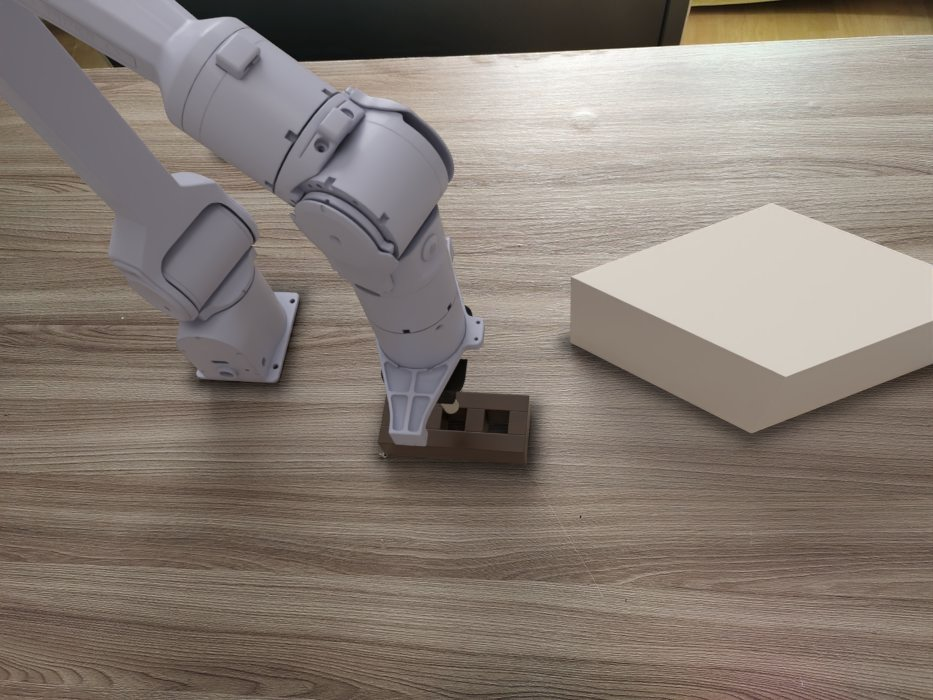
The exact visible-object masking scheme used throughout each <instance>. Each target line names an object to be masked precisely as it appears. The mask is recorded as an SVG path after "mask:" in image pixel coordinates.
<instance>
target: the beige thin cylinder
mask: <svg viewBox="0 0 933 700" xmlns="http://www.w3.org/2000/svg"><path fill="white" fill-rule="evenodd" d="M441 405H442V407H443V408H444V410H445V411H446V412H447V413H449V414H452V413H455V412H456V411H457V410H458V408H459V403H458V402H457V400H455V402H454V404H441Z"/></svg>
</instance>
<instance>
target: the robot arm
mask: <svg viewBox="0 0 933 700" xmlns="http://www.w3.org/2000/svg"><path fill="white" fill-rule="evenodd" d="M39 17H40V18H42V19H43V20H45V21H47V22H48V23H50V24H52V25H54V26H55V27H57V28H59V29H60V30H62V31H64V33H65V32H66V33H67V34H70V35H71V36H72V37H74V38H75V39H77V40H79V41H81V42H83V43H84V44H86V45H88V46H89V47H91V48H93V49H94V50H96V51H98V52H100V53H102V54H103V55H105V56H107V57H108V58H110V59H112V60H113V61H115V62H117V63H119V64H120V65H122V66H124V67H126V68H127V69H129V70H131V71H132V72H134V73H136V74H137V75H139V76H140V77H143V78H144V79H146V80H147V81H149V82H152V84H154V85H156V86H157V87H158V89H159V91H160V95H161V99H162V103H163V107H164V112H165V114H166V117H167V119H168V120H169V122H170V124H172V125H173V126H174V127H176V128H177V129H179V130H180V131H181V132H183V133H184V134H186V135H187V136H188V137H190V138H191V139H192V140H194V141H196V142H197V143H199V144H200V145H201V146H203V147H205V148H206V149H208V150H209V151H210V152H212V153H213V154H215V155H216V156H218V157H219V158H220V159H222V160H223V161H225V162H226V163H228V164H229V165H231V166H232V167H234V168H235V169H237V170H238V171H239V172H241V173H242V174H244V175H245V176H247V177H248V178H250V179H251V180H253V181H254V182H256V183H257V184H259V185H260V186H261V187H263V188H264V189H266V190H267V191H269V192H270V193H271V194H273V195H274V196H275V197H277V198H279V199H280V200H282V201H283V202H285V203H286V204H287V205H289V206H291V207H292V208H294V209H293V212H289V214H288V215H289V218H290V219H291V221H292V222H293V223H294V225H295V226H296V227H297V228H298V230H299V231H300V232H301V233H302V234H303V235H304V237H306V238H307V239H308V241H309V242H311V243H312V244H313V245H314V246H315V247H316V248H317V249H318V250H319V251H320V252H321V253H322V254H323V255H324V256H325V258H326V259H327V262H328V263H329V265H330V267H331V269H332V270H333V271H335V272H336V273H337V274H338V276H339V277H340V278H341V279H344V280H345V281H348V282H350V284H351V287H352V288H353V291H354V293H355V295H356V297H357V299H358V302H359V303H360V307H362V310H363V312H364V314H365V317H366V318H367V320H368V322H369V324H370V327H371V329H372V331H373V334H374V336H375V344H376V349H377V353H378V359H379V362H380V363H379V364H380V369H381V370H380V378H381V380H382V382H383V384H384V388H385V392H386V393H387V398H388V403H389V410H390V426H389V434H390V436H391V438H392V439H393V441H394V443H395V444H398V445H410V446H426V444H427V437H428V432H427V430H426V423H427V420H428V418H429V416H430V414H431V412H432V410H433V408H434V406H435V404H436V403H437V404H454V402H455V400H456V393H457V392H460V391H463V388H464V385H465V382H466V379H467V371H468V370H467V369H468V363H469V360H468V359H467V358H462V356H463V354H464V353H466V352H467V351H470V350H472V351H475V350H476V351H477V350H479V349H481V348H482V347H483V345H484V342H485V334H486V326H485V320H484V319H483V318H482V317H480V316H473V315H474V314H473V311H472V309H471V308H470V307H469V306H468V305H466V304H465V302H464V299H463V294H462V291H461V288H460V284H459V281H458V277H457V274H456V271H455V267H454V259H455V258H454V257H455V251H454V246H453V242H452V237H450V236H446V234H445V229H444V225H443V221H442V216H441V213H440V209H439V205H438V203H439V202H440V200H441V198H442V196H443V195H444V194H445V193H446V191H447V189H448V187H449V183H450V182H451V181H452V180H453V178H454V176H455V162H454V158H453V156H452V154H451V153H452V152H451V151H450V149H449V147H448V145H447V144H446V142H445V141H444V139H443V138H442V137H441V136H440V134H439V133H438V132H437V131H436V130H435V129H434V127H432V126H431V125H430V124H429V123H428V122H427V121H425V120H424V119H423V118H421V116H420V115H418V114H417V113H416V112H415V111H414V110H413V109H412V108H410V107H408V106H407V105H405V104H403V103H401V102H399V101H396V100H393V99H390V98H385V97H379V96H372V95H369V94H367V93H364V92H363V91H362V90H361V89H359V88H357V87H355V88H353V87H352V86H347V87H346V89H345V90H344V91H342V92H341V91H339V90H338V89H336V88H335V87H334V86H332V85H331V84H329V83H328V82H327V81H325V79H323V78H321V77H320V76H318V75H317V74H315V73H314V72H313V71H311V70H310V69H309V68H307V67H306V66H304V65H303V64H302V63H300V61H297V60H296V59H295V58H293V57H292V56H290V55H289V54H288V53H286V52H285V51H284V50H283V49H281V48H279V47H278V46H276V45H275V44H274V43H272V42H271V41H270V40H268V39H267V38H265V37H264V36H263V35H261V34H260V33H258V32H257V31H256V30H254V29H253V28H251V27H250V26H249V25H248V24H246V23H244V21H242V20H240V19H239V18H237V17H233V16H220V17H213V18H205V19H198V18H196V17H195V16H194V15H193V14H191V13H190V12H189V11H188V10H187V9H185V7H183V6H182V5H181V4H179V3H178V2H177V1H176V0H0V98H1V99H2V100H3V101H4V102H5V103H6V104H7V105H8V106H9V107H10V108H11V110H13V111H14V112H15V114H17V116H19V117H20V119H22V121H24V122H25V124H26V125H28V127H30V128H31V129H32V131H33V132H35V134H36V135H38V137H40V139H41V140H42V141H43V142H44V143H45V144H46V145H47V146H48V147H49V148H50V149H51V150H52V151H53V152H54V153H55V154H56V155H57V156H58V157H59V158H60V159H61V160H62V162H64V163H65V164H66V165H67V166H68V167H69V168H70V169H71V170H72V171H73V172H74V173H75V174H76V176H78V177H79V178H80V179H81V180H82V181H83V183H85V185H87V187H89V188H90V189H91V190H92V192H93V193H95V194H96V196H97V197H98V198H99V199H101V200H102V202H103V203H104V204H105V205H106V206H107V207H108V208H109V209H110V210H111V211H112V212H113V213H114V217H113V218H114V219H113V223H112V229H111V234H110V239H109V246H108V249H107V257H108V259H109V260H110V261H111V262H112V265H113V267H114V268H116V270H118V272H119V273H120V274H121V275H123V277H124V278H125V279H126V282H127V284H128V286H129V287H130V288H131V289H132V290H133V291H134V293H136V294H137V295H139V297H141V298H142V299H143V300H144V301H146V302H147V303H148V304H150V305H151V306H153V307H154V308H156V309H157V310H159V312H162V313H163V314H165V315H167V316H168V317H170V318H173V319H175V320H177V321H178V330H177V333H176V338H175V347H176V349H177V350H178V352H180V353H181V354H182V356H184V357H185V358H186V359H187V360H188V362H189V363H190V364H192V365H193V367H194V368H196V372H195V376H196V377H197V378H198V379H200V380H213V381H229V382H231V381H232V382H247V383H248V382H249V383H267V384H275V383H277V382H279V380H280V377H281V373H282V369H283V367H284V362H285V358H286V354H287V350H288V346H289V342H290V339H291V334H292V330H293V327H294V323H295V318H296V314H297V311H298V307H299V302H300V298H301V297H300V295H299V293H297V292H295V291H293V292H290V291H273V289H272V287H271V286H270V284H269V283H268V281H267V279H266V278H265V277H264V275H263V274H262V272H261V271H260V269H259V267H258V266H257V265H256V263H255V261H256V259H257V257H258V255H259V254H258V251H257V250H256V249H255V247H254V245H255V244H256V243H257V242H258V241H259V240H260V237H261V235H260V231H259V228H258V224H257V222H256V220H255V218H254V217H253V216H252V215H251V213H250V212H249V211H248V210H247V209H246V207H244V206H243V205H242V204H241V203H240V202H238V201H237V200H236V199H235V198H233V197H232V196H231V195H229V194H228V192H227V191H226V190H224V188H223V187H222V186H221V185H220V183H218V182H217V181H215V180H213V179H211V178H209V177H207V176H204V175H202V174H199V173H196V172H191V171H180V172H173V173H170V172H169V170H168V169H167V168H166V167H165V166H164V165H163V164H162V162H161V161H160V160H159V158H157V156H156V155H155V154H154V153H153V152H152V150H151V149H150V148H149V147H148V146H147V144H146V143H145V142H144V141H143V140H142V138H141V137H140V136H139V135H138V134H137V132H136V131H135V130H134V129H133V128H132V126H131V125H130V124H129V123H128V122H127V120H126V119H124V117H123V116H122V115H121V113H119V111H118V110H117V109H116V107H115V106H114V105H113V104H112V103H111V102H110V101H109V99H108V98H107V97H106V96H105V95H104V93H103V92H102V91H101V90H100V88H98V86H97V85H96V84H95V82H93V80H92V79H91V78H90V77H89V76H88V74H87V73H86V72H85V71H84V69H83V68H82V67H81V66H80V65H79V64H78V63H77V62H76V60H75V59H74V58H73V57H72V55H71V54H70V53H69V52H68V51H67V50H66V49H65V47H64V46H63V45H62V44H61V42H60V41H59V40H58V39H57V38H56V37H55V35H53V33H52V32H51V31H50V29H49V28H48V27H47V25H45V23H44V22H43V21H42V20H41V19H40V18H39ZM276 367H277V368H276Z"/></svg>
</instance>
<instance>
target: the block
mask: <svg viewBox="0 0 933 700" xmlns="http://www.w3.org/2000/svg"><path fill="white" fill-rule="evenodd" d="M569 309H570V311H569V312H570V314H569V315H570V316H569V317H570V319H569V320H570V321H569V328H570V329H569V343H570V344H571V345H574V346H577V347H578V348H580V349H582V350H584V351H586V352H588V353H590V354H592V355H594V356H596V357H598V358H600V359H602V360H604V361H606V362H608V363H609V364H612V365H614V366H616V367H617V368H620V369H622V370H624V371H625V372H628V373H629V374H632V375H633V376H635V377H638V378H639V379H642V380H643V381H645V382H648V383H650V384H651V385H654V386H656V387H658V388H660V389H661V390H664V391H666V392H667V393H670V394H672V395H674V396H676V397H677V398H680V399H681V400H683V401H685V402H687V403H690V404H692V405H693V406H696V407H698V408H699V409H701V410H703V411H705V412H707V413H708V414H711V415H713V416H715V417H717V418H720V419H721V420H723V421H725V422H727V423H729V424H731V425H733V426H735V427H737V428H739V429H741V430H743V431H745V432H747V433H749V434H754V433H757V432H759V431H761V430H764V429H767V428H769V427H772V426H774V425H777V424H781V423H782V422H785V421H788V420H790V419H792V418H795V417H798V416H801V415H803V414H806V413H809V412H811V411H813V410H816V409H818V408H819V409H820V408H821V407H823V406H826V405H829V404H832V403H835V402H837V401H839V400H842V399H845V398H847V397H849V396H852V395H855V394H857V393H860V392H862V391H865V390H867V389H871V388H873V387H876V386H878V385H881V384H883V383H886V382H888V381H892V380H894V379H897V378H899V377H901V376H902V377H903V376H905V375H907V374H909V373H912V372H915V371H917V370H920V369H923V368H925V367H927V366H930V365H933V264H932V263H929V262H926V261H924V260H921V259H918V258H916V257H913V256H910V255H907V254H905V253H902V252H899V251H897V250H894V249H892V248H890V247H887V246H884V245H881V244H879V243H876V242H874V241H872V240H869V239H866V238H863V237H861V236H859V235H856V234H854V233H851V232H848V231H845V230H843V229H840V228H837V227H835V226H833V225H830V224H828V223H824V222H822V221H820V220H817V219H814V218H811V217H809V216H807V215H804V214H801V213H799V212H796V211H793V210H791V209H788V208H786V207H783V206H781V205H778V204H775V203H772V202H770V203H768V204H767V203H766V204H764V205H762V206H759V207H757V208H753V209H751V210H748V211H746V212H743V213H740V214H737V215H735V216H732V217H729V218H727V219H724V220H721V221H718V222H716V223H713V224H710V225H707V226H704V227H702V228H699V229H696V230H694V231H691V232H687V233H685V234H683V235H680V236H677V237H674V238H672V239H669V240H667V241H664V242H661V243H658V244H656V245H652V246H650V247H647V248H645V249H642V250H639V251H637V252H634V253H631V254H628V255H625V256H623V257H620V258H618V259H615V260H612V261H609V262H606V263H604V264H601V265H598V266H596V267H593V268H589V269H587V270H584V271H582V272H580V273H577V274H573V275H571V276H570V307H569Z"/></svg>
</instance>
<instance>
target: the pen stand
mask: <svg viewBox="0 0 933 700" xmlns="http://www.w3.org/2000/svg"><path fill="white" fill-rule="evenodd" d="M384 399H385V400H384V405H383V411H382V416H381V422H380V428H379V433H378V439H377V444H378V445H379V447H380V449H381V450H382V452H383V454H384V455H385V456H395V457H408V458H422V459H438V460H450V461H467V462H478V463H479V462H481V463H493V464H494V463H495V464H509V465H520V466H521V465H523V466H527V464H528V463H527V462H528V461H527V460H528V450H529V448H528V447H529V440H530V439H529V438H530V424H531V411H532V407H531V400H530V399H531V398H530V395H529V394H514V393H497V392H478V391H463V390H461V391H460V392H457V393H456V400H457V402H458V403H459V408H458V410H457V411H456V412H455V413H452V414H449V413H447V412H446V411H445V410H444V408H443V407H442V405H441V404H437V403H436V404H435V406H434V408H433V410H432V412H431V414H430V416H429V418H428V420H427V423H426V430H427V432H428V437H427V444H426V446H410V445H398V444H395V443H394V441H393V439H392V438H391V436H390V434H389V426H390V410H389V403H388V398H387V393H386V394H385V398H384ZM449 421H450V422H451V421H452V422H455V421H456V422H464V423H465V424H464V431H463V430H452V429H451V430H449V429H448V424H449ZM489 424H503V425H507V433H495V432H488V431H489Z"/></svg>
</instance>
